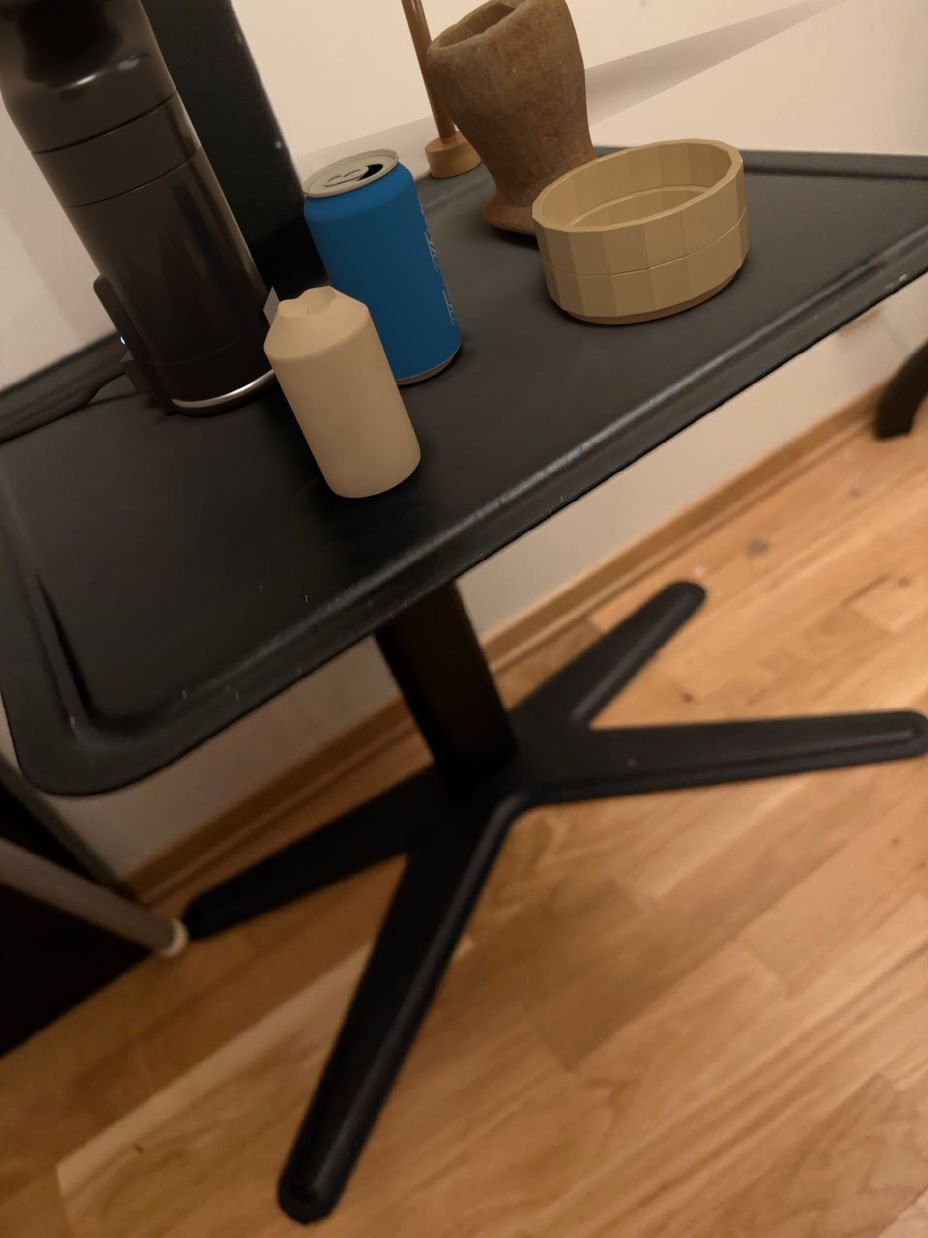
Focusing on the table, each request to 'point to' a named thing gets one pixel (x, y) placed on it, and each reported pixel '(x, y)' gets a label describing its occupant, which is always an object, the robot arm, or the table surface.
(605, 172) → the bowl
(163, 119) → the robot arm
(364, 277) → the beverage can
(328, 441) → the candle
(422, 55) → the wooden plunger
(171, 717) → the table surface
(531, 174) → the stone cup
